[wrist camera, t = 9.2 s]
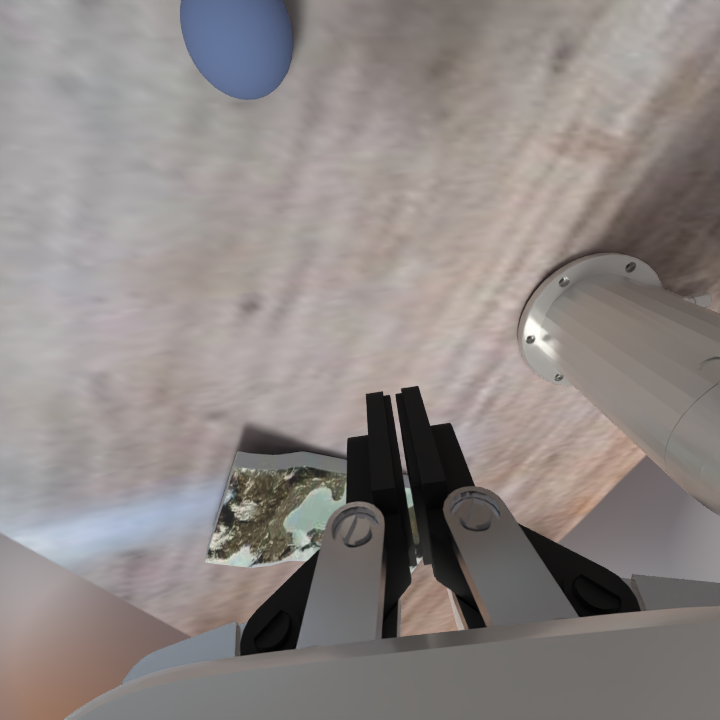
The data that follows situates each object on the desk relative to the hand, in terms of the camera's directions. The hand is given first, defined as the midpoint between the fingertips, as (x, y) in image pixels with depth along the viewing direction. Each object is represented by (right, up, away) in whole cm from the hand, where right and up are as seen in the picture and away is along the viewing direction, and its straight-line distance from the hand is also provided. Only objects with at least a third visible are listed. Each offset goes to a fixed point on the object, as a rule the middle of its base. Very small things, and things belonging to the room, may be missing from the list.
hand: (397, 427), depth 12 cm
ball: (-8, +21, +9) cm, 24 cm away
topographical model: (-4, -15, +33) cm, 36 cm away
